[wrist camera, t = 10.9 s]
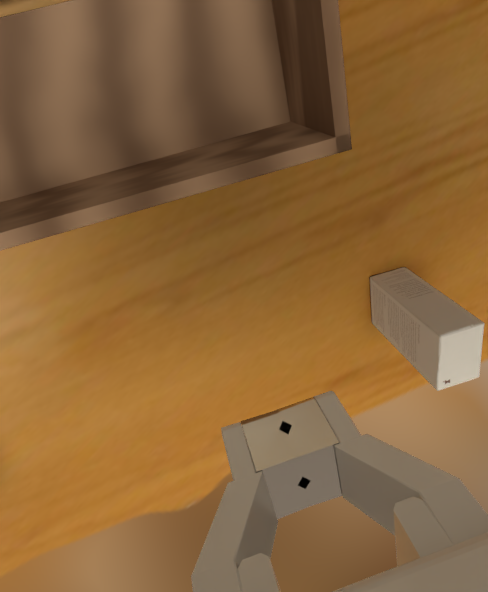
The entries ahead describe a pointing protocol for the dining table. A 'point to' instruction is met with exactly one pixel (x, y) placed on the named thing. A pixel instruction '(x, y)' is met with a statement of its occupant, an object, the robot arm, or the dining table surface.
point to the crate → (159, 103)
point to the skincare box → (427, 328)
